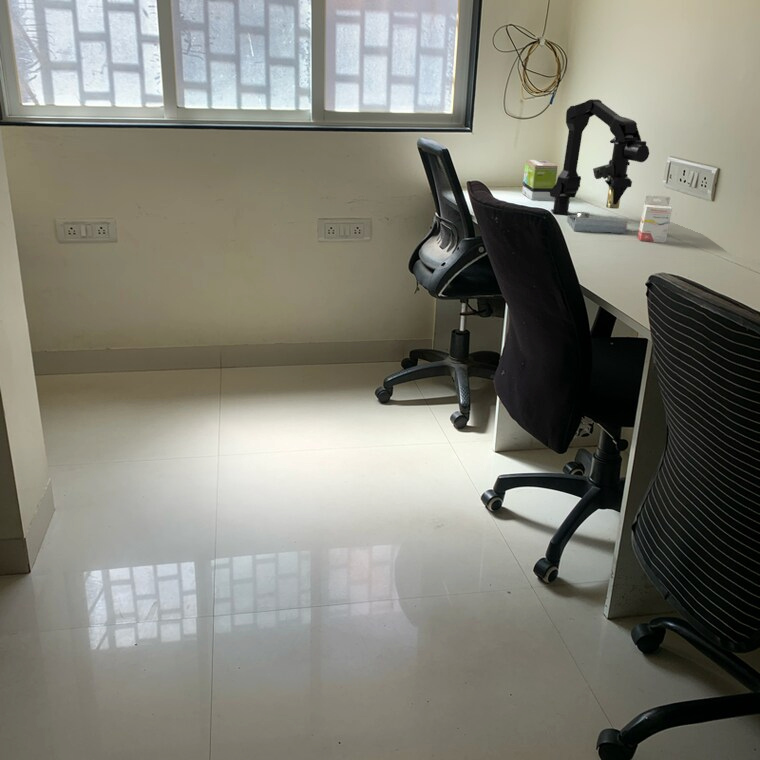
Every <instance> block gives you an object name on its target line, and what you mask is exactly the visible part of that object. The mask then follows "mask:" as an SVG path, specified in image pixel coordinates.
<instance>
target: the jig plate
mask: <svg viewBox="0 0 760 760" xmlns="http://www.w3.org/2000/svg"><path fill="white" fill-rule="evenodd" d="M566 217H567V218H566V223H567V224H568V225H569V226H570V228H571V229H572V230H573V232H581V231H582V232H585V233H600V232H611V233H610V234H619V233H627V228H628V220H626V219H625V220H624V219H623V220H622V219H620V218H618V217H617V216H615V217H613V216H597V215H595V216H594V215H589V218H577V214H567V216H566ZM589 231H590V232H589Z"/></svg>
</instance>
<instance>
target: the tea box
mask: <svg viewBox="0 0 760 760" xmlns="http://www.w3.org/2000/svg"><path fill="white" fill-rule="evenodd" d="M557 174H558V165H557V164H555V163H553V162H551V161H549V160H547V159H546V160H545V159H525V163H524V171H523V182H522V192H521V193H522V194H523V195H524V196H526V197H527V198H528V199H529V200H531V201H542V202H543V201H545V202H547V201H549V202H550V201H553V202H554V200H555V197H551V196H550V190H551V189H552V188H553V187H554V186H555V185H556V183H557V176H558V175H557Z"/></svg>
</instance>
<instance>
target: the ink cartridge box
mask: <svg viewBox="0 0 760 760" xmlns="http://www.w3.org/2000/svg"><path fill="white" fill-rule="evenodd" d="M657 199H658V200H657ZM659 200H660V201H659ZM670 200H671V196H667V195H666V196H665V195H652V194H650V195H649V194H646V195H645V200H644V204H643V207H642V210H641V211H642V212H641V218H640V222H639V228H638V232H637V233H638V235H637V239H639V241H640V242H650V243H651V242H653V243H666V242H667V236H668V232H669V227H670V221H671V216H672V212H673V210H672V209H673V208H672V207H671V206H670Z"/></svg>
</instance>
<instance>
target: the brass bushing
mask: <svg viewBox="0 0 760 760" xmlns="http://www.w3.org/2000/svg"><path fill="white" fill-rule="evenodd" d="M620 202H621V198H620V199H619V201H618V202H617V204H616V205H614V204H613V189H612V187H611V186H610V187H609V186H608V192H607V199H606V207H605V208H608V209H613V210H614V209H619V208H620Z"/></svg>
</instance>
